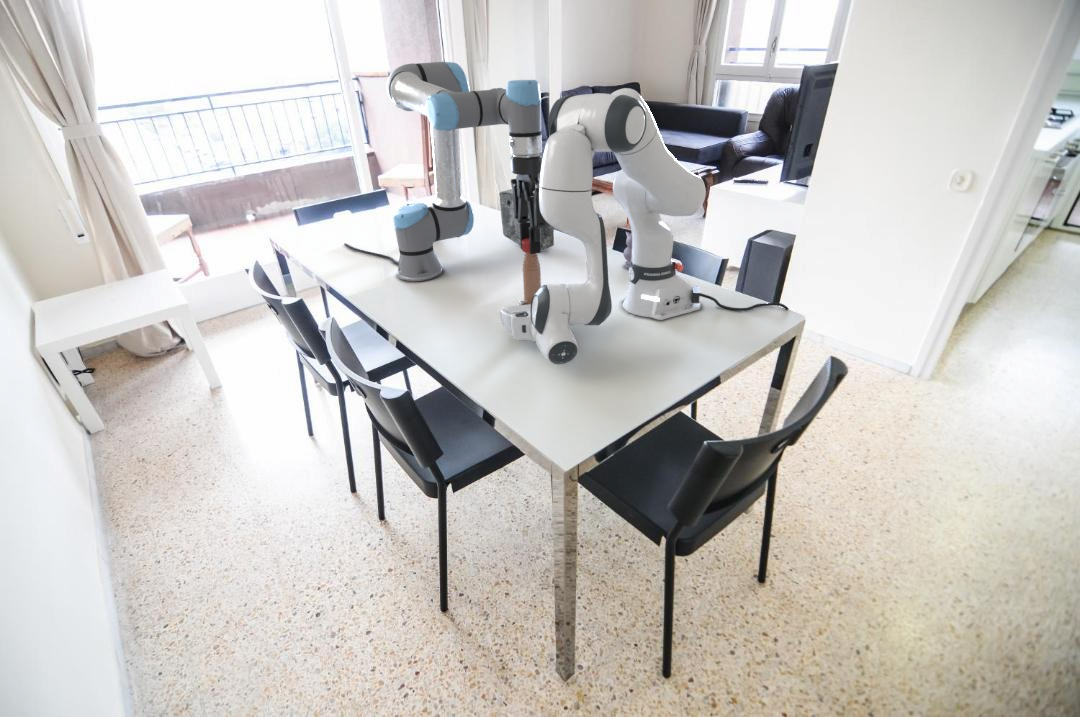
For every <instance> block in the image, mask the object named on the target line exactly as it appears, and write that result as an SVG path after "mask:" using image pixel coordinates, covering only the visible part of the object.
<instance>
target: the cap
mask: <svg viewBox="0 0 1080 717" xmlns="http://www.w3.org/2000/svg"><path fill="white" fill-rule="evenodd" d="M521 250H522V252H524V253H525V252H526V253H530V241H529V238H526V239H523V240H522V249H521Z"/></svg>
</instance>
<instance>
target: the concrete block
mask: <svg viewBox="0 0 1080 717" xmlns="http://www.w3.org/2000/svg"><path fill="white" fill-rule="evenodd" d="M498 196H499V206H500V216H501V226H502V234H503V236H504V237H506V238H507V239H509V240H511V241H512V242H514V243H515V244H518V245H519V246H521V240H520V223H518V219H515V217H514V206H513V192H512V188H510V189H505V190H503V191H500V192H499V193H498ZM531 197H533V196H531ZM528 218H529V215H528ZM529 219H530V218H529ZM528 222H529V223H530V221H528ZM528 222H527V223H528ZM530 227H531V225H530ZM554 229H555V228H554V227H552V226H551V225H550V224H548V223H547V222H546V221H545V227H542V228H540V249H541V252H542V251H545V250H547V249H549V248H551V247H554V245H555V233H554V232H555V230H554Z"/></svg>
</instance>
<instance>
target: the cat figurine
mask: <svg viewBox="0 0 1080 717" xmlns="http://www.w3.org/2000/svg"><path fill="white" fill-rule="evenodd" d="M625 234H626V239H625V245H626V247H625V248H624V250H623V254H622V255H623V257H624V259H625V260H626V261H625V263H624V267H625V268H626V269H627V270H629V265H630V260H631V259H632V232H628V231H625Z"/></svg>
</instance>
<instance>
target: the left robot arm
mask: <svg viewBox="0 0 1080 717" xmlns="http://www.w3.org/2000/svg"><path fill="white" fill-rule="evenodd" d="M540 86H541V85H540V82H539V81H538V80H536V79H513V80H508V81H507V83H506V86H505V87H506V88H503V87H497V88H496V87H494V88H493V87H492V88H490V89H482V90H472V91H471V90H470V84H469V80H468V78H467V75H466V73H465V71H464V69H463V68H462V66H461V65H460V64H458V63H457V62H452V61H435V62H434V61H433V62H419V63H414V62H413V63H406V64H403V65H400V66H398V67H397V68H395V69H394V70H393V71H392V72H391V73H390V75H389V76H388V79H387V82H386V92H387V95H388V98H389V99H390V101H391V103H392V104H393V105H394V106H396V107H397V108H398V109H401V110H402V111H405V112H416V113H418V114H420V115H422V116H425V117H426V118H427V119H428V121H429V123H430V137H431V147H432V148H431V149H432V159H433V171H434V172H433V174H434V185H435V186H434V187H435V195H434V196H433V197H432V198H431V206H428V205H427V204H426V203H424V202H423V203H422V202H417V203H409V205H407V204H406V205H403V206H401V207H399V208H397V209H396V210H395V211H394V213H393V215H392V219H393V228H394V230H395V231H394V232H395V236H396V241H397V247H398V251H399V259H398V261H397V260H396V259H394V258H393V257H391V256H389V255H385V254H381V253H377V252H372V251H368V250H364V249H361V248H356V247H354V246H352V245H350V244H348V243H343V245H344V246H345V247H347V248H348V249H350V250H352V251H355V252H359V253H362V254H366V255H371V256H375V257H380V258H384V259H388V260H390V261H391V262H393V264H395V265H397V276H398V278H399V279H400V280H402V281H406V282H413V283H414V282H425V281H429V280H432V279H435V278H438V277H439V276H440V275H441V274H442V273H443V268H442V264H441V263H440V260H439V259H438V257H439V256H438V253H436V252H435V250H434V243H435V242H440V241H446V240H450V239H455V238H460V237H463V236H466V235H469V234H470V232H471V231H472V230H473V227H474V220H475V218H474V217H475V216H474V212H473V207H472V205H471V203H470V202H469V201H468V200H467V197H465V196H464V195H463V190H462V170H461V149H460V148H461V146H460V129H468V128H477V127H490V126H499V125H507V126H508V137H509V142H508V145H509V150H510V151H509V152H510V154H511V157H510V170H511V173H512V174H514V175H516V176H515V178H512V179H510V185H511V189H512V192H513V206H514V217H515V219H518V223H520V240H521V245H520V249H521V250H522V240H523V239H526V238H529V241H530V254H540V253H541V252H542V251H541V249H540V228H542V227H545V219H544V218H543V216H542V214H541V212H540V207H539V187H540V186H539V184H540V178H539V175H540V173H541V165H542V159H543V155H542V153H543V138H542V136H543V134H542V97H541V87H540ZM531 196H533V197H531ZM528 215H529V218H530V219H529V218H528ZM528 221H530V223H529V222H528ZM527 222H528V223H527ZM530 225H531V227H530Z"/></svg>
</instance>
